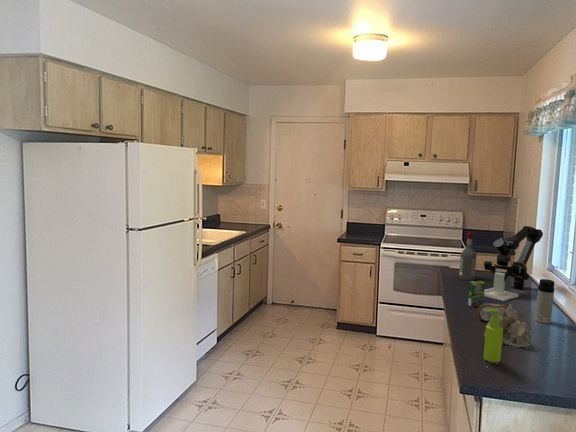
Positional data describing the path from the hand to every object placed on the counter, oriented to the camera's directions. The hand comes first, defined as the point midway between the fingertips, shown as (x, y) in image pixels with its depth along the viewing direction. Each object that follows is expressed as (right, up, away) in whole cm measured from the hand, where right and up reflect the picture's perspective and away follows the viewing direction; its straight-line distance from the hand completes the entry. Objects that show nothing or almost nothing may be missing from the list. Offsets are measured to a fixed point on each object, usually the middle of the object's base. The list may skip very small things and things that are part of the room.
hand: (499, 279), depth 272 cm
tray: (0, -9, +2) cm, 10 cm away
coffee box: (-20, -11, -18) cm, 30 cm away
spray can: (+3, -15, -40) cm, 43 cm away
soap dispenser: (-42, -19, -89) cm, 100 cm away
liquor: (-3, -5, +40) cm, 41 cm away
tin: (-21, -14, -42) cm, 49 cm away
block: (+1, -6, +2) cm, 7 cm away
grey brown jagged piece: (-26, -17, -67) cm, 74 cm away
